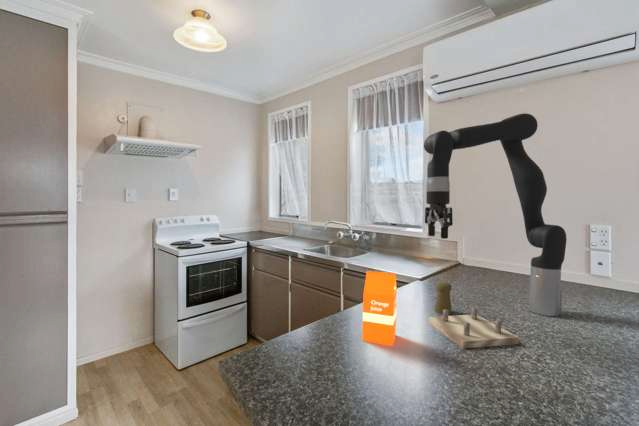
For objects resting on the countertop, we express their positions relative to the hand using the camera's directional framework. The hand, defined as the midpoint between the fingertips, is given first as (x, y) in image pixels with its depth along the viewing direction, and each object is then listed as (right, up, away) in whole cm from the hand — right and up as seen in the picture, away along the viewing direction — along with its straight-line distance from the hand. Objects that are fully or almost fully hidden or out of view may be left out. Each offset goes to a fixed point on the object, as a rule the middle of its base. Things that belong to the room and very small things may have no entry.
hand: (437, 237), depth 106 cm
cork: (+5, -29, +8) cm, 30 cm away
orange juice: (-23, -29, -14) cm, 40 cm away
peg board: (+6, -29, -10) cm, 32 cm away
